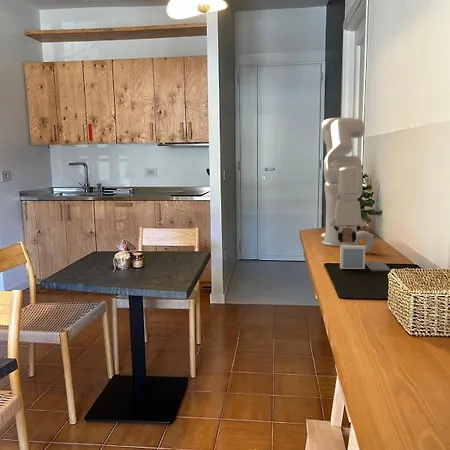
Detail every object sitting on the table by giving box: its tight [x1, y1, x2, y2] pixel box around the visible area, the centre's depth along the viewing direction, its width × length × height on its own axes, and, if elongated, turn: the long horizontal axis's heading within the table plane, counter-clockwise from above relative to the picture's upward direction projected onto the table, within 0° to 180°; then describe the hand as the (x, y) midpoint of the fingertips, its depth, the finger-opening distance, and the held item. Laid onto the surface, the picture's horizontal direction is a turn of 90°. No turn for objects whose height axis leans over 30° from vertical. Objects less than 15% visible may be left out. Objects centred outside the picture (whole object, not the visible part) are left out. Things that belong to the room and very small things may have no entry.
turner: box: [342, 227, 356, 246], centre depth 182 cm, size 10×4×6 cm, turn 174°
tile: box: [339, 245, 366, 270], centre depth 173 cm, size 2×9×9 cm, turn 84°
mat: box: [365, 261, 392, 272], centre depth 175 cm, size 12×7×1 cm, turn 174°
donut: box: [354, 230, 375, 254], centre depth 198 cm, size 10×4×10 cm, turn 81°
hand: (346, 241), depth 186 cm, fingers closed on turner, 4 cm apart
